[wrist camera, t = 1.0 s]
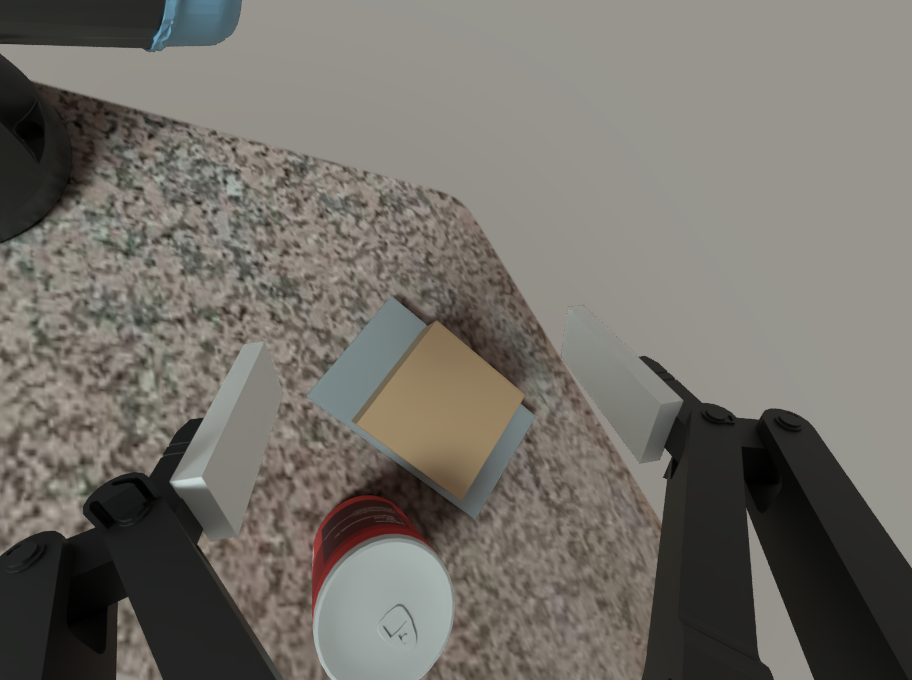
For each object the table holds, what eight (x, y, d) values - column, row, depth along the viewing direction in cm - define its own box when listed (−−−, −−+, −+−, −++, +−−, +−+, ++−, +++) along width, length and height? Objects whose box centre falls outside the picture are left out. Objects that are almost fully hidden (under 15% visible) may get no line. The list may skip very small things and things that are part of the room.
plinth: (306, 396, 30) (305, 395, 26) (389, 298, 34) (401, 282, 29) (470, 516, 34) (496, 534, 29) (529, 415, 37) (560, 417, 33)
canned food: (370, 615, 30) (400, 728, 20) (288, 560, 28) (276, 650, 18) (428, 527, 32) (482, 586, 22) (356, 473, 31) (378, 509, 21)
